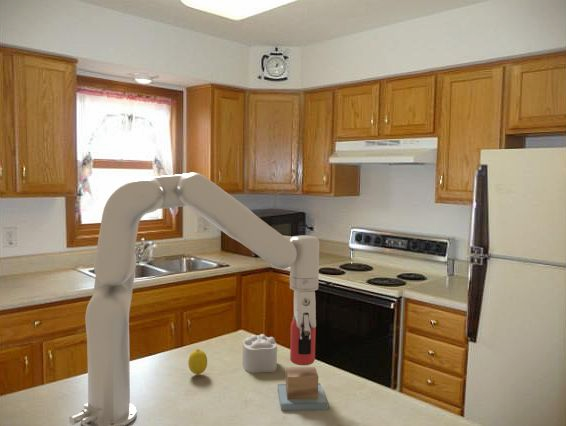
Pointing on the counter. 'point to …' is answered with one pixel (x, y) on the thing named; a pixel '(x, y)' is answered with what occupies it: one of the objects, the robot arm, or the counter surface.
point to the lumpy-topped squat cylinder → (259, 354)
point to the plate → (301, 400)
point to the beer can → (294, 355)
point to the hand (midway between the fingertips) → (302, 348)
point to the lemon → (197, 362)
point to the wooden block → (301, 383)
